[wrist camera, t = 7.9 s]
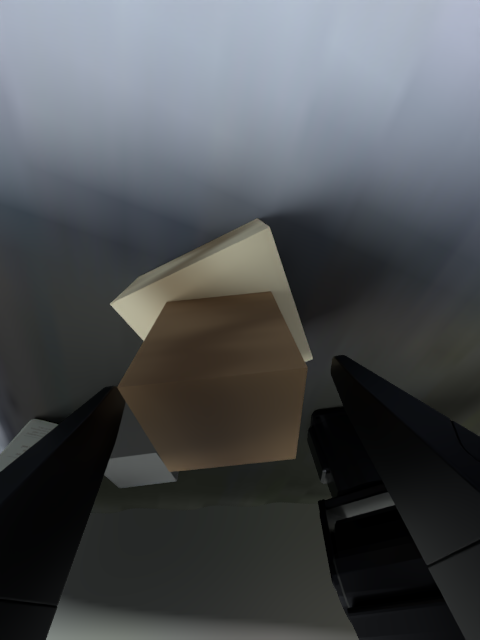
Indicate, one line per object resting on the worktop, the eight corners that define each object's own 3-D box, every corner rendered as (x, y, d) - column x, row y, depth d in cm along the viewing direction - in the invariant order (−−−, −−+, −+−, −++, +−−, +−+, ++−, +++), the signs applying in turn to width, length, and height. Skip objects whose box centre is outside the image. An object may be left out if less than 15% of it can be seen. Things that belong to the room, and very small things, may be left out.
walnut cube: (271, 291, 9) (307, 367, 5) (271, 366, 12) (295, 458, 8) (166, 301, 9) (117, 387, 5) (189, 375, 12) (169, 471, 8)
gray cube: (172, 394, 18) (156, 452, 14) (186, 424, 21) (176, 481, 17) (120, 401, 19) (88, 461, 14) (141, 430, 21) (119, 488, 17)
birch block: (256, 217, 11) (269, 227, 8) (294, 323, 15) (313, 359, 12) (140, 275, 13) (109, 303, 9) (203, 358, 17) (197, 399, 13)
